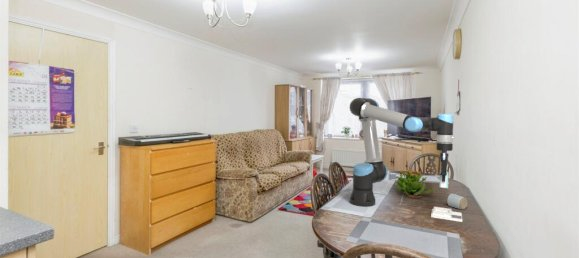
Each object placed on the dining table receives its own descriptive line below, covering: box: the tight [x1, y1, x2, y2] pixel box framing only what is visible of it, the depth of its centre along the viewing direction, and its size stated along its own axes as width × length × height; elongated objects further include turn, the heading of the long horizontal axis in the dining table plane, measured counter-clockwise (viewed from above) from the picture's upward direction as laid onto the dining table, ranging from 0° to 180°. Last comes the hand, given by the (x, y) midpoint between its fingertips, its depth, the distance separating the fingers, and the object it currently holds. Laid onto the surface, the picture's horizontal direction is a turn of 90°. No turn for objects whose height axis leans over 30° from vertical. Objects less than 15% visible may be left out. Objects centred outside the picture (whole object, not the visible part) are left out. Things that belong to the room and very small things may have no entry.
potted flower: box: [392, 169, 436, 199], centre depth 192 cm, size 25×24×18 cm
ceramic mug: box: [446, 192, 468, 210], centre depth 169 cm, size 11×8×8 cm
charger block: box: [439, 170, 449, 189], centre depth 155 cm, size 4×4×9 cm
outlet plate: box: [430, 206, 463, 223], centre depth 155 cm, size 14×12×3 cm
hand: (443, 186), depth 156 cm, fingers closed on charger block, 4 cm apart
